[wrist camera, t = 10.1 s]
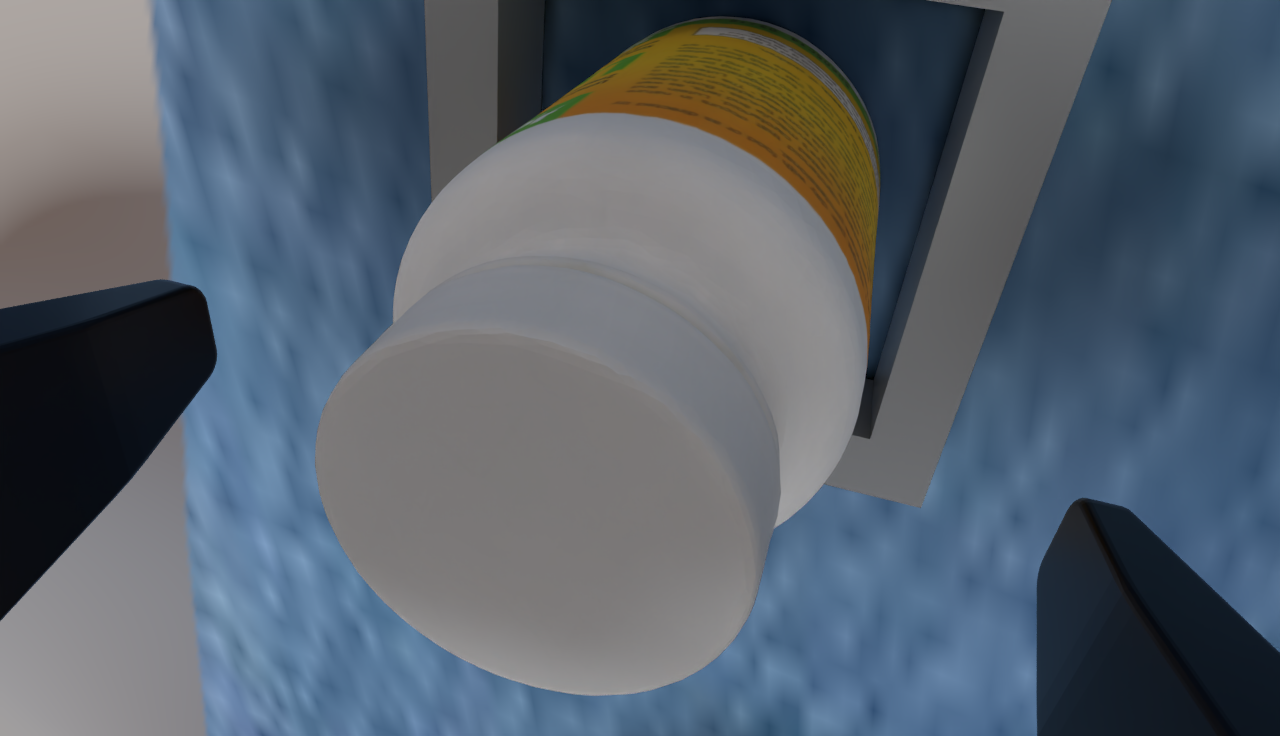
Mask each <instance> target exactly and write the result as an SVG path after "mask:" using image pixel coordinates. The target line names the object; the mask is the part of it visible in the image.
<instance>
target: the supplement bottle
mask: <svg viewBox="0 0 1280 736" xmlns="http://www.w3.org/2000/svg"><path fill="white" fill-rule="evenodd" d="M879 199H880V158H879V149H878V143H877V138H876V133H875V130H874V127H873V124H872V121H871V118H870V115H869V113H868V111H867V108H866V106H865V104H864V102H863V100H862V99H861V97H860V95H859V93H858V92H857V90H856V89H855V87H854V86H853V84H852V83H851V81H850V80H849V79H848V78H847V76H846V75H845V74H844V73H843V71H842V70H841V69H840V68H839V67H838V66H837V65H836V64H835V63H834V62H833V61H832V60H831V59H830V58H829V57H828V56H827V55H826V54H824V53H823V52H822V51H821V50H820V49H818V48H817V47H815V46H814V45H813V44H811V43H810V42H809V41H807V40H805V39H804V38H802V37H800V36H799V35H797V34H795V33H793V32H790V31H788V30H786V29H784V28H781V27H779V26H776V25H773V24H770V23H767V22H763V21H759V20H754V19H749V18H740V17H725V16H717V17H705V18H697V19H692V20H688V21H684V22H680V23H676V24H674V25H671V26H669V27H666V28H663V29H661V30H659V31H657V32H655V33H653V34H651V35H649V36H647V37H646V38H644V39H642V40H640V41H639V42H637V43H635V44H634V45H632V46H631V47H629V48H628V49H626V50H625V51H624V52H622V53H621V54H620V55H619V56H617V57H616V58H615V59H613V60H612V61H611V62H609V63H608V64H607V65H605V66H604V67H602V68H601V69H600V70H598V71H597V72H596V73H594V74H593V75H592V76H590V77H589V78H588V79H586V80H585V81H584V82H582V83H581V84H579V85H578V86H576V87H575V88H574V89H572V90H571V91H570V92H569V93H567V94H566V95H565V96H563V97H562V98H560V99H559V100H557V101H556V102H555V103H553V104H552V105H551V106H549V107H548V108H546V109H545V110H544V111H542V112H541V113H540V114H538V115H537V116H535V117H534V118H533V119H531V120H530V121H528V122H527V123H526V124H524V125H523V126H521V127H520V128H518V129H517V130H515V131H514V132H512V133H511V134H510V135H508V136H507V137H505V138H504V139H502V140H500V141H499V142H498V143H496V144H495V145H494V146H492V147H491V148H490V149H488V150H487V151H486V152H484V153H483V154H482V155H480V156H479V157H478V158H477V159H475V160H474V161H473V162H472V163H470V164H469V165H468V166H467V167H466V168H464V169H463V170H462V171H461V172H460V173H459V174H458V175H456V176H455V177H454V178H453V179H452V180H451V181H450V182H449V183H448V184H447V185H446V186H445V187H444V188H443V189H442V190H441V192H440V193H439V194H438V195H437V197H436V198H435V199H434V200H433V202H432V203H431V204H430V206H429V207H428V209H427V210H426V212H425V213H424V215H423V216H422V218H421V219H420V221H419V223H418V225H417V226H416V228H415V230H414V232H413V234H412V236H411V237H410V240H409V242H408V245H407V247H406V250H405V252H404V255H403V257H402V260H401V264H400V268H399V272H398V276H397V280H396V287H395V294H394V303H393V324H392V325H391V326H390V327H389V328H388V329H387V330H386V331H385V332H384V333H383V334H382V335H381V336H380V337H379V338H378V339H377V340H376V341H375V342H374V343H373V344H372V345H371V346H370V347H369V348H368V349H367V350H366V351H365V352H364V353H363V354H362V355H361V356H360V357H359V358H358V359H357V360H356V361H355V362H354V363H353V364H352V366H351V367H350V368H349V369H348V370H347V371H346V372H345V373H344V374H343V376H342V377H341V379H340V380H339V382H338V384H337V385H336V387H335V388H334V390H333V391H332V393H331V395H330V397H329V399H328V401H327V403H326V405H325V407H324V409H323V412H322V415H321V419H320V423H319V426H318V431H317V439H316V453H315V467H316V473H317V480H318V486H319V492H320V496H321V499H322V503H323V506H324V509H325V512H326V515H327V518H328V520H329V522H330V524H331V526H332V528H333V530H334V533H335V535H336V537H337V539H338V541H339V543H340V545H341V547H342V548H343V550H344V551H345V553H346V555H347V556H348V558H349V559H350V561H351V562H352V564H353V565H354V567H355V569H356V570H357V572H358V573H359V574H360V575H361V576H362V578H363V579H364V580H365V581H366V582H367V584H368V585H369V586H370V587H371V588H372V589H373V590H374V592H375V593H376V594H377V595H378V596H379V597H380V598H381V599H382V600H383V601H384V602H385V603H386V604H387V605H388V606H389V607H390V608H391V609H392V610H393V611H394V612H395V613H397V614H398V615H399V616H400V617H401V618H402V619H403V620H404V621H406V622H407V623H408V624H409V625H411V626H412V627H413V628H415V629H416V630H417V631H419V632H420V633H421V634H423V635H424V636H426V637H427V638H429V639H430V640H431V641H433V642H434V643H436V644H437V645H439V646H440V647H442V648H444V649H445V650H447V651H449V652H450V653H452V654H454V655H455V656H457V657H459V658H461V659H463V660H465V661H467V662H469V663H471V664H473V665H475V666H477V667H480V668H482V669H484V670H487V671H489V672H491V673H493V674H496V675H499V676H502V677H505V678H507V679H510V680H513V681H517V682H520V683H523V684H527V685H530V686H533V687H537V688H543V689H548V690H553V691H558V692H563V693H569V694H578V695H592V696H597V695H620V694H633V693H639V692H644V691H649V690H653V689H656V688H659V687H663V686H666V685H669V684H671V683H674V682H677V681H680V680H683V679H684V678H686V677H688V676H690V675H692V674H694V673H695V672H697V671H699V670H701V669H702V668H704V667H705V666H706V665H708V664H709V663H710V662H712V661H713V660H714V659H716V658H717V657H718V656H719V655H720V654H721V653H722V652H723V651H724V650H725V649H726V648H727V647H728V646H729V645H730V644H731V643H732V642H733V641H734V639H735V638H736V636H737V634H738V633H739V631H740V630H741V628H742V627H743V625H744V623H745V622H746V620H747V618H748V617H749V615H750V613H751V610H752V608H753V606H754V602H755V599H756V596H757V592H758V588H759V584H760V581H761V577H762V573H763V569H764V564H765V560H766V556H767V551H768V547H769V543H770V539H771V536H772V533H773V530H774V528H776V527H777V526H779V525H780V524H782V523H783V522H785V521H786V520H788V519H789V518H790V517H791V516H792V515H794V514H795V513H796V512H797V511H798V510H799V509H801V508H802V507H803V506H804V505H805V504H806V503H807V502H808V501H809V500H810V499H811V498H812V497H813V496H814V495H815V494H816V493H817V491H818V490H819V489H820V488H821V487H822V485H823V484H824V483H825V481H826V480H827V479H828V477H829V476H830V475H831V473H832V472H833V470H834V469H835V467H836V465H837V464H838V462H839V461H840V459H841V457H842V455H843V453H844V451H845V449H846V446H847V444H848V442H849V440H850V437H851V435H852V433H853V430H854V427H855V424H856V421H857V418H858V414H859V409H860V404H861V398H862V393H863V388H864V383H865V377H866V370H867V362H868V351H869V340H870V319H871V302H872V288H873V274H874V258H875V244H876V233H877V221H878V213H879Z"/></svg>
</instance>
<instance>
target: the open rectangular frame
mask: <svg viewBox="0 0 1280 736" xmlns="http://www.w3.org/2000/svg"><path fill="white" fill-rule="evenodd" d="M928 1H935V2H942V3H949V4H955V5H962V6H969V7H976V8H983V9H986V10H985V13H984V16H983V20H982V23H981V26H980V30H979V33H978V36H977V39H976V43H975V46H974V49H973V53H972V56H971V59H970V63H969V66H968V69H967V73H966V76H965V79H964V82H963V86H962V89H961V92H960V96H959V99H958V102H957V106H956V109H955V112H954V116H953V119H952V122H951V125H950V129H949V132H948V135H947V139H946V142H945V145H944V149H943V152H942V155H941V159H940V162H939V165H938V168H937V172H936V175H935V178H934V182H933V185H932V188H931V192H930V195H929V198H928V202H927V205H926V208H925V212H924V215H923V218H922V221H921V225H920V228H919V231H918V235H917V238H916V241H915V245H914V248H913V251H912V255H911V258H910V261H909V264H908V268H907V271H906V274H905V278H904V281H903V284H902V288H901V291H900V294H899V298H898V301H897V304H896V307H895V311H894V314H893V317H892V321H891V324H890V327H889V331H888V334H887V337H886V341H885V344H884V347H883V351H882V354H881V357H880V360H879V364H878V367H877V370H876V374H875V377H874V380H870V379H866V378H865V383H864V388H863V393H862V398H861V404H860V409H859V414H858V418H857V421H856V424H855V427H854V430H853V433H852V435H851V437H850V440H849V442H848V444H847V446H846V449H845V451H844V453H843V455H842V457H841V459H840V461H839V462H838V464H837V465H836V467H835V469H834V470H833V472H832V473H831V475H830V476H829V477H828V479H827V480H826V481H825V483H824V484H826V485H830V486H834V487H838V488H842V489H846V490H850V491H854V492H858V493H862V494H866V495H870V496H874V497H878V498H883V499H887V500H891V501H895V502H899V503H903V504H907V505H911V506H915V507H919V508H921V506H922V503H923V501H924V498H925V495H926V493H927V490H928V487H929V485H930V482H931V480H932V477H933V474H934V472H935V469H936V466H937V464H938V461H939V458H940V456H941V453H942V450H943V448H944V445H945V442H946V440H947V437H948V434H949V432H950V429H951V426H952V424H953V421H954V418H955V416H956V413H957V410H958V408H959V405H960V402H961V400H962V397H963V394H964V392H965V389H966V386H967V384H968V381H969V379H970V376H971V373H972V371H973V368H974V365H975V363H976V360H977V357H978V355H979V352H980V349H981V347H982V344H983V341H984V339H985V336H986V333H987V331H988V328H989V325H990V323H991V320H992V317H993V315H994V312H995V309H996V307H997V304H998V301H999V299H1000V296H1001V293H1002V291H1003V288H1004V286H1005V283H1006V280H1007V278H1008V275H1009V272H1010V270H1011V267H1012V264H1013V262H1014V259H1015V256H1016V254H1017V251H1018V248H1019V246H1020V243H1021V240H1022V238H1023V235H1024V232H1025V230H1026V227H1027V224H1028V222H1029V219H1030V216H1031V214H1032V211H1033V208H1034V206H1035V203H1036V200H1037V198H1038V195H1039V193H1040V190H1041V187H1042V185H1043V182H1044V179H1045V177H1046V174H1047V171H1048V169H1049V166H1050V163H1051V161H1052V158H1053V155H1054V153H1055V150H1056V147H1057V145H1058V142H1059V139H1060V137H1061V134H1062V131H1063V129H1064V126H1065V123H1066V121H1067V118H1068V115H1069V113H1070V110H1071V107H1072V105H1073V102H1074V100H1075V97H1076V94H1077V92H1078V89H1079V86H1080V84H1081V81H1082V78H1083V76H1084V73H1085V70H1086V68H1087V65H1088V62H1089V60H1090V57H1091V54H1092V52H1093V49H1094V46H1095V44H1096V41H1097V38H1098V36H1099V33H1100V30H1101V28H1102V25H1103V22H1104V20H1105V17H1106V14H1107V12H1108V9H1109V7H1110V4H1111V1H1112V0H928ZM424 6H425V33H426V61H427V88H428V116H429V143H430V171H431V198H432V202H433V200H434V199H435V198H436V197H437V195H438V194H439V193H440V192H441V190H442V189H443V188H444V187H445V186H446V185H447V184H448V183H449V182H450V181H451V180H452V179H453V178H454V177H455V176H456V175H458V174H459V173H460V172H461V171H462V170H463V169H464V168H466V167H467V166H468V165H469V164H470V163H472V162H473V161H474V160H475V159H477V158H478V157H479V156H480V155H482V154H483V153H484V152H486V151H487V150H488V149H490V148H491V147H492V146H494V145H495V144H496V143H498V142H499V141H500V140H502V139H504V138H505V137H507V136H508V135H510V134H511V133H512V132H514V131H515V130H517V129H518V128H520V127H521V126H523V125H524V124H526V123H527V122H528V121H530V120H531V119H533V118H534V117H535V116H537V115H538V114H540V113H541V94H542V67H543V39H544V11H545V0H424Z"/></svg>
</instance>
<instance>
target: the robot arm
mask: <svg viewBox="0 0 1280 736" xmlns="http://www.w3.org/2000/svg"><path fill="white" fill-rule="evenodd" d="M216 361H217V349H216V344H215V339H214V334H213V329H212V324H211V320H210V315H209V310H208V305H207V301H206V298H205V296H204V295H203V293H202V292H201V291H200V290H199V289H198V288H196V287H194V286H191V285H186V284H182V283H178V282H174V281H170V280H161V279H160V280H153V281H148V282H143V283H137V284H132V285H127V286H121V287H116V288H110V289H105V290H99V291H94V292H88V293H83V294H78V295H73V296H67V297H62V298H56V299H51V300H45V301H40V302H35V303H29V304H24V305H18V306H13V307H8V308H3V309H0V621H1V620H2V619H3V618H4V617H5V615H6V614H7V613H8V612H9V611H10V610H11V609H12V608H13V607H14V606H15V605H16V604H17V602H18V601H19V600H20V599H21V598H22V597H23V596H24V595H25V594H26V593H27V592H28V591H29V589H31V587H32V586H33V585H34V584H35V583H36V582H37V581H38V580H39V579H40V578H41V577H42V575H43V574H44V573H45V572H46V571H47V570H48V569H49V568H50V567H51V566H52V565H53V564H54V563H55V561H56V560H57V559H58V558H59V557H60V556H61V555H62V554H63V553H64V552H65V551H66V550H67V549H68V548H69V546H70V545H71V544H72V543H73V542H74V541H75V540H76V539H77V538H78V537H79V536H80V534H81V533H82V532H83V531H84V530H85V529H86V528H87V527H88V526H89V525H90V524H91V523H92V522H93V521H94V520H95V518H96V517H97V516H98V515H99V514H100V513H101V512H102V511H103V510H104V509H105V507H106V506H107V505H108V504H109V503H110V502H111V501H112V500H113V499H114V498H115V497H116V496H117V494H118V493H119V492H120V491H121V490H122V489H123V488H124V487H125V485H126V484H127V483H128V482H129V481H130V480H131V479H132V478H133V476H134V475H135V474H136V473H137V471H138V470H139V469H140V468H141V466H142V465H143V464H144V463H145V461H146V460H147V459H148V457H149V456H150V455H151V453H152V452H153V451H154V449H155V448H156V447H157V446H158V444H159V443H160V442H161V440H162V439H163V438H164V436H165V435H166V433H167V432H168V431H169V430H170V428H171V427H172V426H173V424H174V423H175V422H176V420H177V419H178V418H179V417H180V415H181V414H182V413H183V411H184V410H185V409H186V407H187V406H188V405H189V403H190V402H191V401H192V400H193V398H194V397H195V396H196V394H197V393H198V392H199V390H200V389H201V388H202V386H203V385H204V384H205V382H206V381H207V380H208V378H209V377H210V376H211V374H212V372H213V370H214V368H215V365H216ZM1037 736H1280V652H1278V651H1277V650H1276V649H1275V648H1274V647H1273V646H1272V645H1271V644H1270V643H1269V642H1268V641H1267V640H1266V639H1265V638H1264V637H1263V636H1262V635H1261V634H1260V633H1258V632H1257V631H1256V630H1255V629H1254V628H1253V627H1252V626H1251V625H1250V624H1249V623H1248V622H1247V621H1246V620H1245V619H1244V618H1243V617H1242V616H1241V615H1240V614H1239V613H1237V612H1236V611H1235V610H1234V609H1233V608H1232V607H1231V606H1230V605H1229V604H1228V603H1227V602H1226V601H1225V600H1224V599H1223V598H1222V597H1221V596H1220V595H1219V594H1217V593H1216V592H1215V591H1214V590H1213V589H1212V588H1211V587H1210V586H1209V585H1208V584H1207V583H1206V582H1205V581H1204V580H1203V579H1202V578H1201V577H1200V576H1199V575H1198V574H1196V573H1195V572H1194V571H1193V570H1192V569H1191V568H1190V567H1189V566H1188V565H1187V564H1186V563H1185V562H1184V561H1183V560H1182V559H1181V558H1180V557H1179V556H1178V555H1177V554H1175V553H1174V552H1173V551H1172V550H1171V549H1170V548H1169V547H1168V546H1167V545H1166V544H1165V543H1164V542H1163V541H1162V540H1161V539H1160V538H1159V537H1158V536H1157V535H1155V534H1154V533H1153V532H1152V531H1151V530H1150V529H1149V528H1148V527H1147V526H1146V525H1145V524H1144V523H1143V522H1142V521H1141V520H1140V519H1139V518H1138V517H1137V516H1136V515H1134V514H1133V513H1132V512H1131V511H1130V510H1129V509H1127V508H1125V507H1122V506H1118V505H1114V504H1110V503H1105V502H1101V501H1097V500H1092V499H1088V498H1081V499H1078V500H1076V501H1075V502H1074V503H1073V504H1072V505H1071V506H1070V507H1069V509H1068V510H1067V512H1066V514H1065V516H1064V518H1063V520H1062V522H1061V524H1060V526H1059V528H1058V530H1057V532H1056V534H1055V536H1054V538H1053V540H1052V542H1051V544H1050V546H1049V548H1048V550H1047V552H1046V554H1045V556H1044V558H1043V560H1042V563H1041V566H1040V569H1039V573H1038V579H1037Z"/></svg>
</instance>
